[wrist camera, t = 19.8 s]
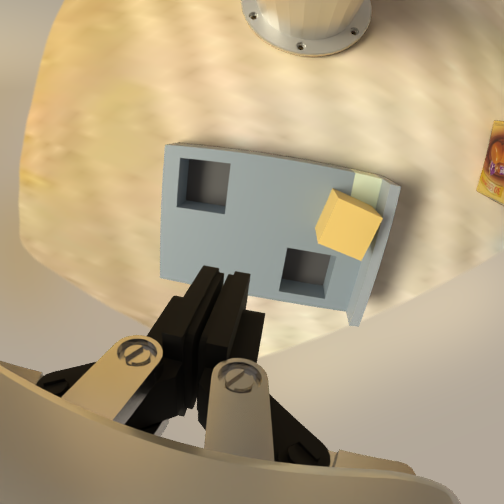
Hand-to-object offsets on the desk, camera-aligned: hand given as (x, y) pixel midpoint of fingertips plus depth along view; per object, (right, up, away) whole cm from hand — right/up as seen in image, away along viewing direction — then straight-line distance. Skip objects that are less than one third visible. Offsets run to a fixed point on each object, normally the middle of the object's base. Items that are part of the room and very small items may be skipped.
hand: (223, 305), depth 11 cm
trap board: (+2, +5, +21) cm, 21 cm away
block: (+9, +5, +16) cm, 19 cm away
